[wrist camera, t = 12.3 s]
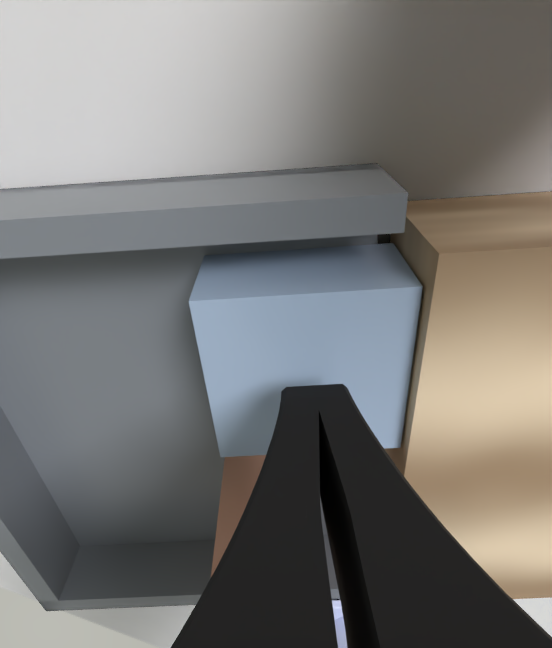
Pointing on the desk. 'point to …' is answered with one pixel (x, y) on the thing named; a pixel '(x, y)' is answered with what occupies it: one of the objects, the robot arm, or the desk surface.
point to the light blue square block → (304, 335)
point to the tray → (136, 368)
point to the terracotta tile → (234, 498)
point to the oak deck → (484, 380)
